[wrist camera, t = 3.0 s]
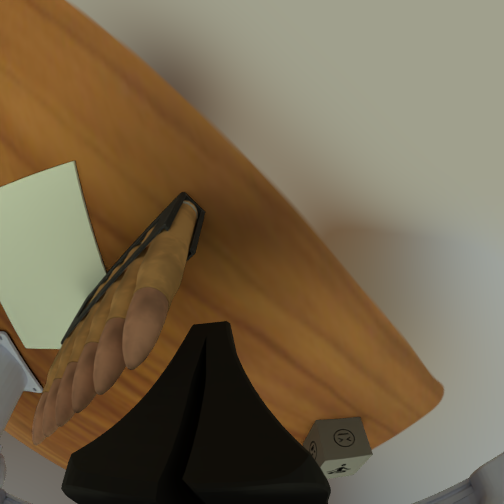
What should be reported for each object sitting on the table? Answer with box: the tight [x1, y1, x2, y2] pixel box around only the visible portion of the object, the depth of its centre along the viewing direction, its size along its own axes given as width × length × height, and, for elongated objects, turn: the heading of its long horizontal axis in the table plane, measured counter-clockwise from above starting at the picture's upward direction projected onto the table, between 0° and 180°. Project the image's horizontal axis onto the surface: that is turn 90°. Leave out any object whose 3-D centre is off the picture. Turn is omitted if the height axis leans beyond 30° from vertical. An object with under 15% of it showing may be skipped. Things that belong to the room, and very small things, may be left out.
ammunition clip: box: [32, 192, 205, 445], centre depth 13 cm, size 11×2×12 cm, turn 132°
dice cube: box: [303, 417, 373, 479], centre depth 26 cm, size 5×5×5 cm
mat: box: [0, 161, 107, 349], centre depth 19 cm, size 12×14×1 cm
